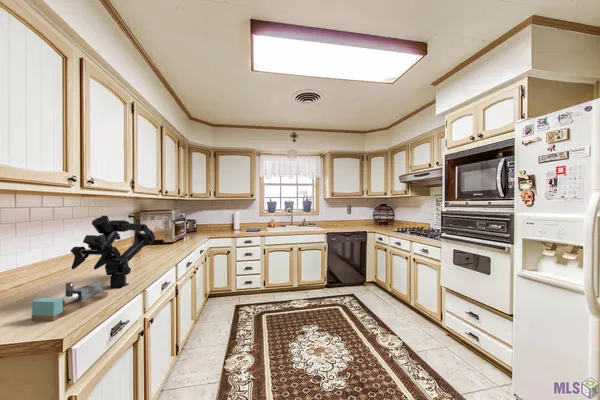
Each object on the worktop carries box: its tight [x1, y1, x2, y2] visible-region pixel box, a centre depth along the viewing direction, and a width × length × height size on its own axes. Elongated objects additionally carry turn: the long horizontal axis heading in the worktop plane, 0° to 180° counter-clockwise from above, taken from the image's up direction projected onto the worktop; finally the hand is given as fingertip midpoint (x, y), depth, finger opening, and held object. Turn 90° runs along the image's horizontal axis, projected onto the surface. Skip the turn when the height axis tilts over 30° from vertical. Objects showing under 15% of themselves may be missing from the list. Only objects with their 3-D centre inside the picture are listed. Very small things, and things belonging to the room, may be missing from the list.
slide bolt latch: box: [31, 282, 109, 322], centre depth 99 cm, size 24×8×6 cm, turn 178°
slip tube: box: [62, 281, 81, 305], centre depth 100 cm, size 13×3×8 cm, turn 178°
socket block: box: [31, 297, 63, 316], centre depth 89 cm, size 3×8×5 cm, turn 87°
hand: (83, 268), depth 104 cm, fingers open, 9 cm apart
